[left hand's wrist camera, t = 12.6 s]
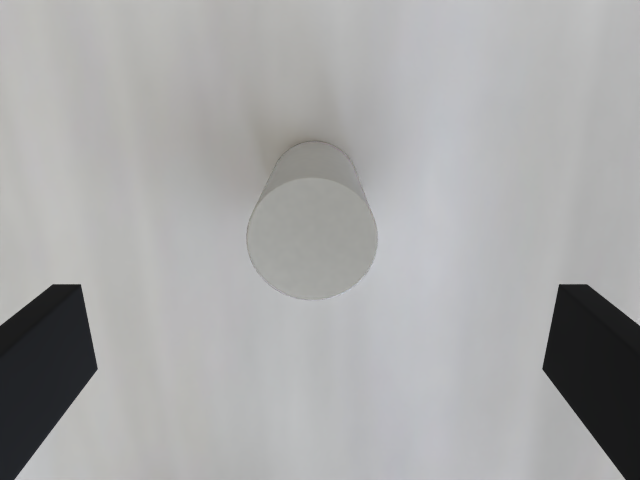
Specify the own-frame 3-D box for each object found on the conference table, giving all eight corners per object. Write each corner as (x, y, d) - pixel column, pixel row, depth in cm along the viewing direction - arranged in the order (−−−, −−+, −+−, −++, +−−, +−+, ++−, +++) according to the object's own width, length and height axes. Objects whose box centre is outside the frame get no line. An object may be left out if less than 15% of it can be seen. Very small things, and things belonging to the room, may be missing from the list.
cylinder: (357, 139, 28) (379, 175, 18) (357, 224, 30) (377, 299, 20) (268, 142, 28) (240, 178, 18) (274, 226, 30) (251, 302, 20)
